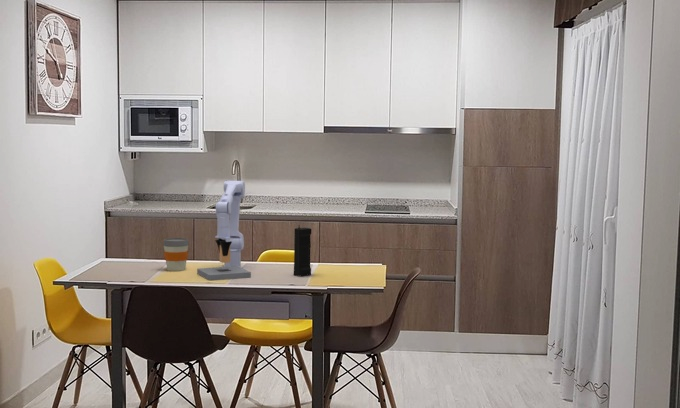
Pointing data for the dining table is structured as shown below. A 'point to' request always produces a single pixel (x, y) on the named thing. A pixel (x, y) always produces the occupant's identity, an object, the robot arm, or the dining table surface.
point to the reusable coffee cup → (176, 253)
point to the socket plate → (223, 273)
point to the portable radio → (302, 251)
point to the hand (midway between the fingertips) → (223, 255)
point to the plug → (224, 258)
